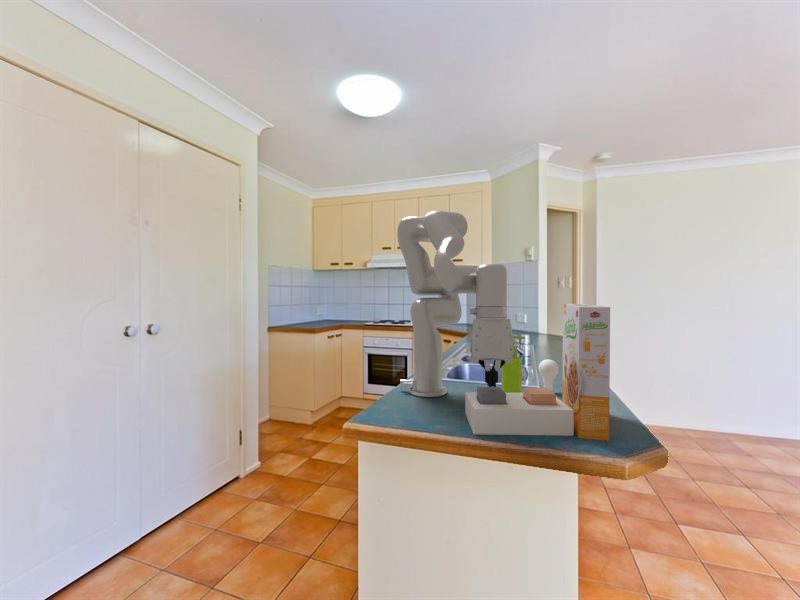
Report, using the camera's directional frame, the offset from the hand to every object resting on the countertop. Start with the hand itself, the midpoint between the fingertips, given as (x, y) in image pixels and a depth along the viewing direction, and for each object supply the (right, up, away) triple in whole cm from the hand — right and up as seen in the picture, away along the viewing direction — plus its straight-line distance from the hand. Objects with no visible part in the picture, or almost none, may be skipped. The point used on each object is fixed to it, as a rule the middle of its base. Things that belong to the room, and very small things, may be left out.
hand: (491, 385), depth 90 cm
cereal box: (+24, -10, +1) cm, 26 cm away
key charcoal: (0, -5, 0) cm, 5 cm away
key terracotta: (+12, -5, 0) cm, 13 cm away
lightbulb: (+26, -9, +28) cm, 40 cm away
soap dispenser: (+12, -10, +20) cm, 25 cm away
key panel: (+6, -10, 0) cm, 11 cm away
